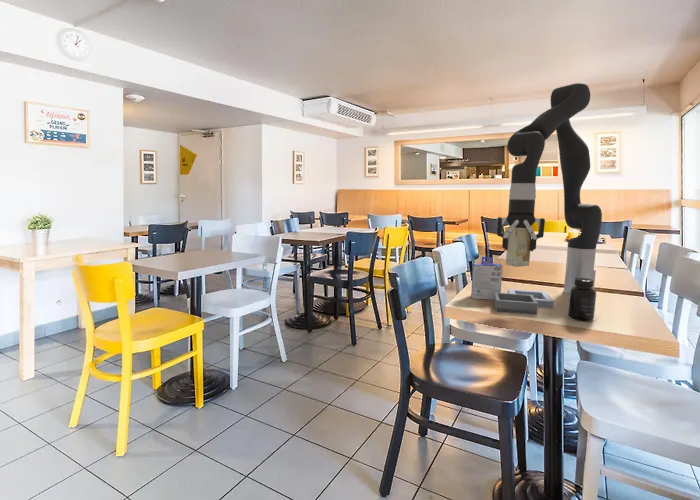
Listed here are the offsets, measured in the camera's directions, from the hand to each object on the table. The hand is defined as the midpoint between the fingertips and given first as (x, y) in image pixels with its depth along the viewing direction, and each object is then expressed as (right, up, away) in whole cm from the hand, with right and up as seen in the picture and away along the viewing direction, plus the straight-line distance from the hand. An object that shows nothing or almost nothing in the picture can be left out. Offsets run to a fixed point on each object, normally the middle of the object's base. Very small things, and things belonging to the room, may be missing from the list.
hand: (518, 250), depth 131 cm
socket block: (+9, -17, +12) cm, 23 cm away
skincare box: (0, -5, +1) cm, 5 cm away
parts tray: (0, -19, +3) cm, 19 cm away
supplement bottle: (+16, -21, -8) cm, 27 cm away
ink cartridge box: (-5, -17, +16) cm, 24 cm away
